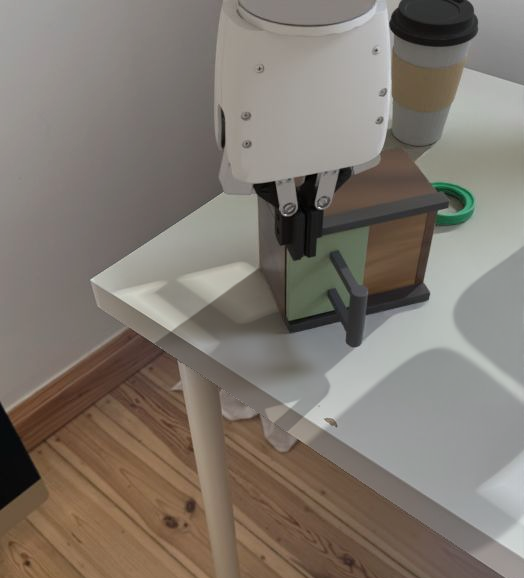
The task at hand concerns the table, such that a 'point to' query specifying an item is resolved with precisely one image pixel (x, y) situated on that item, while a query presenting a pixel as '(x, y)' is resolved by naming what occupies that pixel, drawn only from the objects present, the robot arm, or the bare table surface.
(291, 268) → the door
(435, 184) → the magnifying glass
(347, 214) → the closet
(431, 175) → the table surface
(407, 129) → the coffee cup
